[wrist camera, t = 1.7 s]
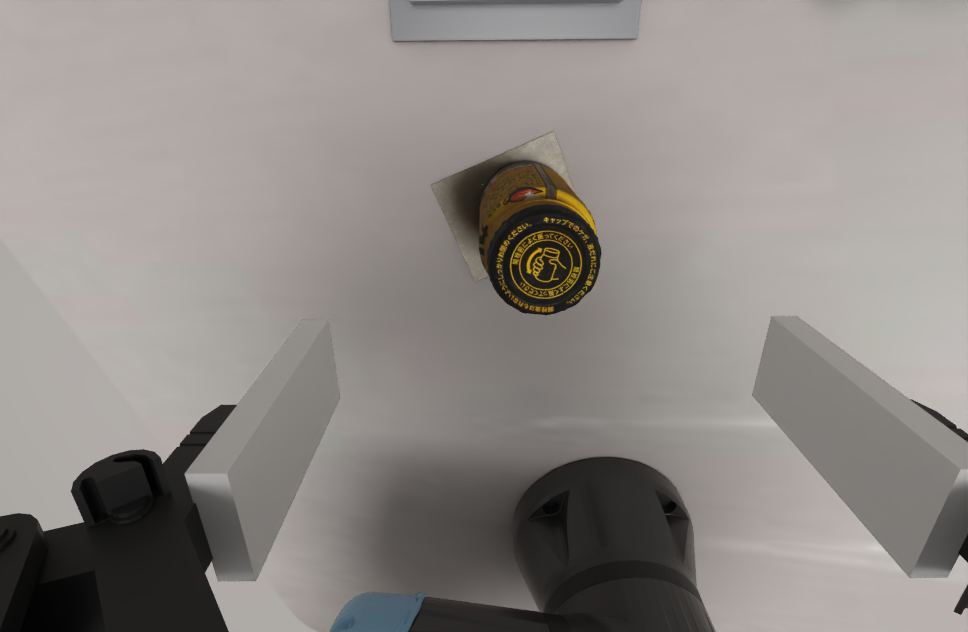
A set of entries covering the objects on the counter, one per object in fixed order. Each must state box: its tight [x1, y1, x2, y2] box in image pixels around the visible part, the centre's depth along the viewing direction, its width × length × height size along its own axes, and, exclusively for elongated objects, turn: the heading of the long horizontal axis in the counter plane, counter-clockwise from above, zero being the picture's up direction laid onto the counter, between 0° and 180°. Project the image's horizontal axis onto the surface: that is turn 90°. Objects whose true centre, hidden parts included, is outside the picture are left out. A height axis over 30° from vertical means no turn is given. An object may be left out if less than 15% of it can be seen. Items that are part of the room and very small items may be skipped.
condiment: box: [431, 132, 601, 315], centre depth 29 cm, size 7×8×12 cm
